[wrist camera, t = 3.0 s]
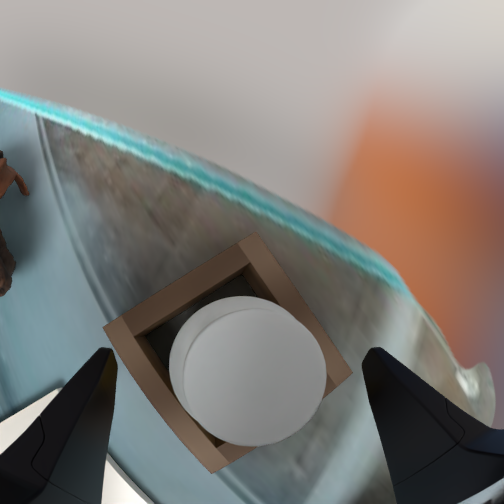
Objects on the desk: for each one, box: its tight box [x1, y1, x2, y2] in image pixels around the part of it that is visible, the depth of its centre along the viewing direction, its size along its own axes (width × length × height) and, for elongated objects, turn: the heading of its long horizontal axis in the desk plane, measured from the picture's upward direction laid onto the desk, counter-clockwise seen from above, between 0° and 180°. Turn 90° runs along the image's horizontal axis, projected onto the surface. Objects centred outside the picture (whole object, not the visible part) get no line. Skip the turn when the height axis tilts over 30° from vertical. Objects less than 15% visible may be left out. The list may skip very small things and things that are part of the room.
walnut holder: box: [103, 232, 353, 474], centre depth 15 cm, size 9×9×3 cm
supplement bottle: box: [169, 296, 327, 447], centre depth 12 cm, size 5×5×10 cm
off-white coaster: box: [0, 387, 155, 504], centre depth 11 cm, size 11×11×1 cm
